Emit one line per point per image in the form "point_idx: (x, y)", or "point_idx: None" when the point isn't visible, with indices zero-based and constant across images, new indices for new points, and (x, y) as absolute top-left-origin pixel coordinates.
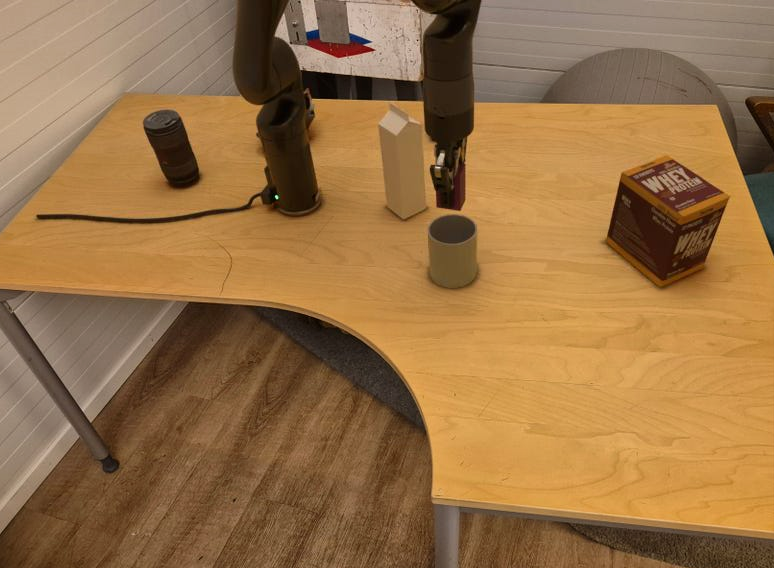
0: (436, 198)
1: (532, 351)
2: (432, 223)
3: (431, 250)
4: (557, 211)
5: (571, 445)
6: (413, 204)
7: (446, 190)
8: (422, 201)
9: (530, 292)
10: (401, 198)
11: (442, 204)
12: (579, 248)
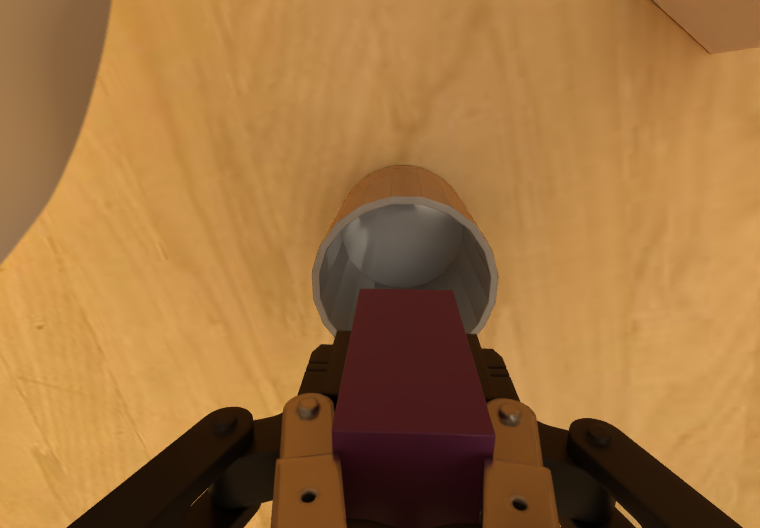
0: (355, 313)
1: None
2: (425, 205)
3: (341, 211)
4: (693, 423)
5: (47, 508)
6: (700, 11)
7: (207, 492)
8: (726, 40)
9: None
10: None
11: (315, 352)
12: None
